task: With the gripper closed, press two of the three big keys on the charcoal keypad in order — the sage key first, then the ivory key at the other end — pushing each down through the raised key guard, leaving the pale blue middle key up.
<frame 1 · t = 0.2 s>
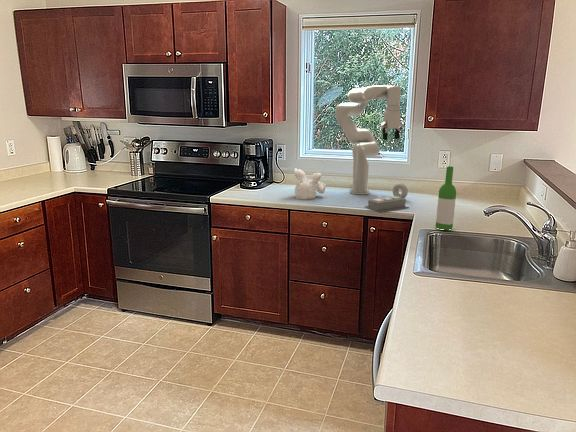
hand: (390, 139, 277), 36 cm above the worktop, tool pointing down, fingers open, 9 cm apart
keypad: (386, 207, 270), on the worktop
key sage: (395, 199, 272), point 4 cm above the worktop, slide at 0.0 cm
key ivory: (378, 202, 266), point 4 cm above the worktop, slide at 0.0 cm
donut: (399, 199, 290), on the worktop
wine bottle: (443, 229, 230), on the worktop
cream lumpy figurine: (309, 196, 294), on the worktop
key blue: (387, 201, 269), point 4 cm above the worktop, slide at 0.0 cm
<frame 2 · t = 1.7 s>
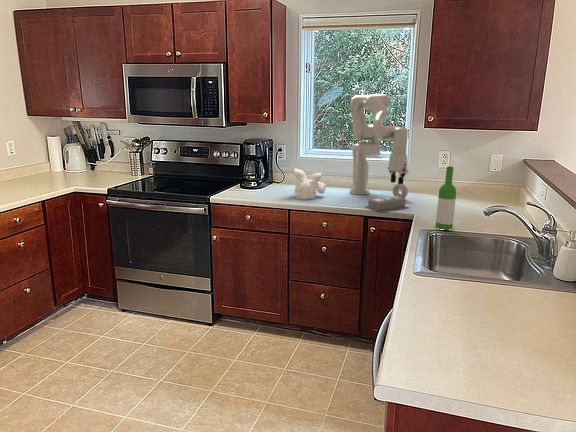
hand: (396, 182, 270), 13 cm above the worktop, tool pointing down, fingers open, 5 cm apart
nothing on the worktop moved.
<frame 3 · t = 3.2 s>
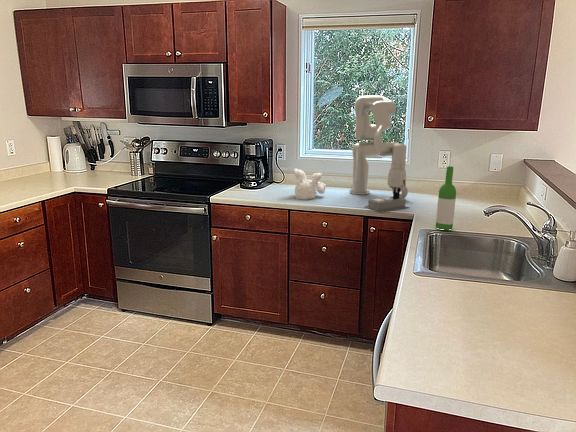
hand: (395, 198, 272), 4 cm above the worktop, tool pointing down, fingers closed
key sage: (395, 201, 273), point 3 cm above the worktop, slide at -0.9 cm, touching gripper
everything else where it was.
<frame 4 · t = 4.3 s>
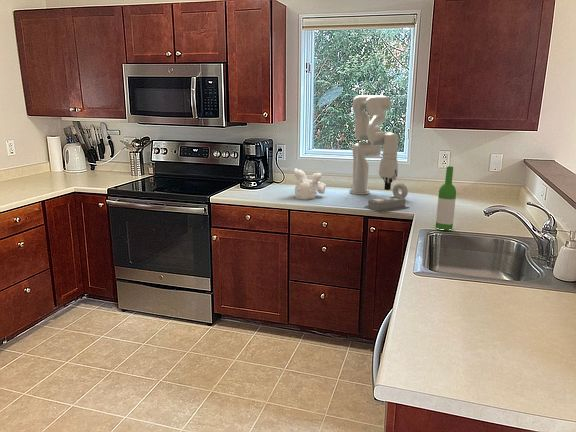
hand: (387, 189, 267), 10 cm above the worktop, tool pointing down, fingers closed
key sage: (395, 201, 273), point 3 cm above the worktop, slide at -1.1 cm
everything else where it was.
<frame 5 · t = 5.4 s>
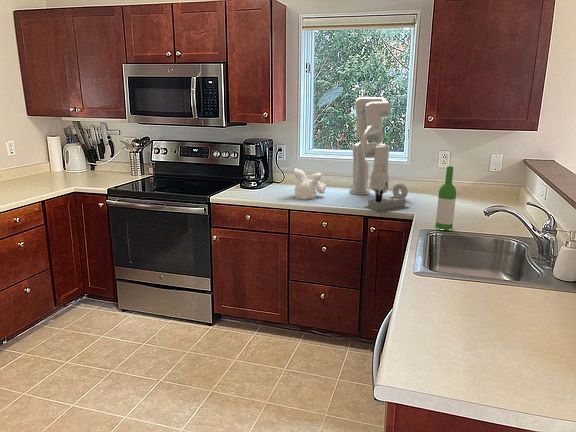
hand: (378, 201, 265), 4 cm above the worktop, tool pointing down, fingers closed
key ivory: (378, 204, 266), point 3 cm above the worktop, slide at -1.0 cm, touching gripper
everything else where it was.
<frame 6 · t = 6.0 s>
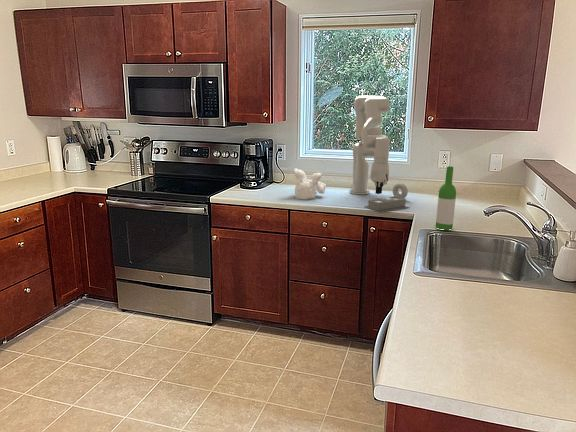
hand: (378, 193, 265), 9 cm above the worktop, tool pointing down, fingers closed
key ivory: (378, 204, 266), point 3 cm above the worktop, slide at -1.1 cm
everything else where it was.
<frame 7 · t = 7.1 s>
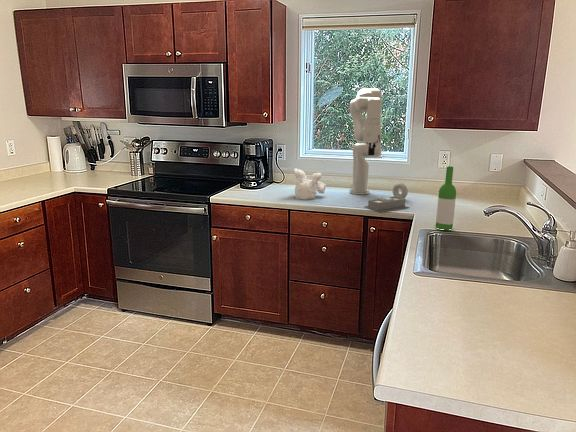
hand: (371, 155, 269), 28 cm above the worktop, tool pointing down, fingers closed
nothing on the worktop moved.
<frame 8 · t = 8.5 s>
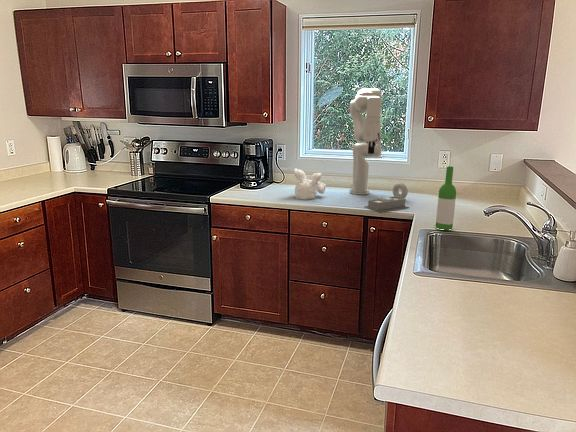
hand: (371, 153, 269), 29 cm above the worktop, tool pointing down, fingers closed
nothing on the worktop moved.
at the end: key sage slide at -1.1 cm; key ivory slide at -1.1 cm; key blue slide at 0.0 cm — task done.
